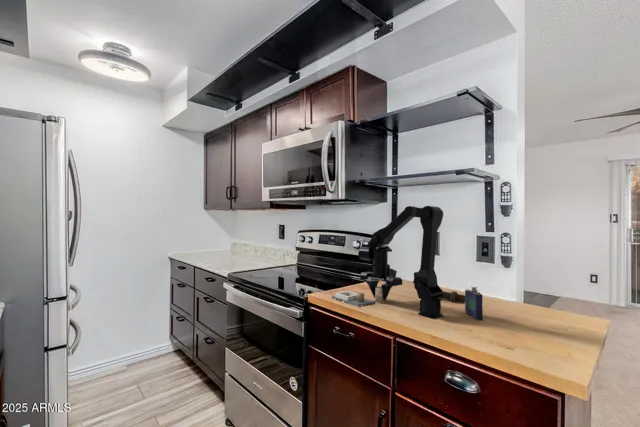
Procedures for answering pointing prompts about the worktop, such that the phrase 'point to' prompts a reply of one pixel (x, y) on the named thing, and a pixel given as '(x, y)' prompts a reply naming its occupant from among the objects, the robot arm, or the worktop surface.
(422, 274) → the robot arm
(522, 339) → the worktop surface
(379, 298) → the beige rounded cylinder
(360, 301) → the board
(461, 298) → the bolt
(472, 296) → the flask
